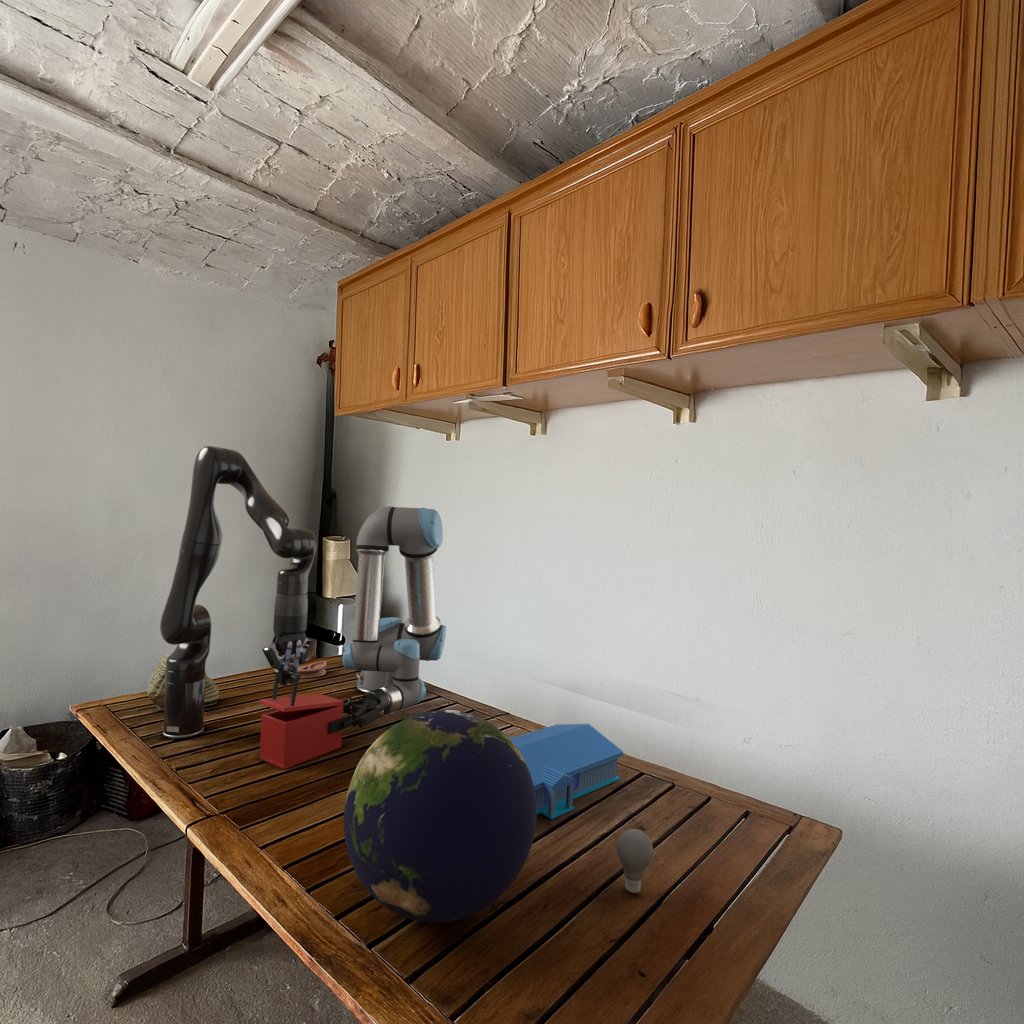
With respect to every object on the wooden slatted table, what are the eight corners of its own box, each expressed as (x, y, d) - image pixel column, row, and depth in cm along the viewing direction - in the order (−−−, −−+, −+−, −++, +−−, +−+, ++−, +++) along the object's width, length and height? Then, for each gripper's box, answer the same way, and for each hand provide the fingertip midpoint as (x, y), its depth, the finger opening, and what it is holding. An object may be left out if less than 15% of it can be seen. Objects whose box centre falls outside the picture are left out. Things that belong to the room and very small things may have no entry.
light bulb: (610, 879, 108) (613, 822, 108) (644, 879, 109) (647, 822, 109) (619, 902, 102) (622, 840, 102) (655, 901, 103) (658, 840, 103)
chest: (283, 769, 146) (285, 723, 146) (259, 758, 151) (261, 714, 151) (341, 747, 160) (343, 705, 160) (317, 738, 165) (319, 697, 165)
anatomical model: (279, 664, 218) (297, 657, 229) (279, 676, 218) (296, 668, 229) (314, 668, 215) (331, 660, 227) (314, 680, 216) (330, 671, 227)
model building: (505, 839, 120) (507, 787, 120) (430, 791, 138) (432, 746, 138) (631, 784, 146) (633, 741, 146) (555, 749, 164) (556, 711, 164)
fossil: (144, 707, 182) (145, 655, 182) (212, 696, 194) (213, 647, 194) (151, 716, 175) (153, 662, 175) (221, 703, 188) (223, 653, 188)
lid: (284, 712, 145) (290, 675, 146) (259, 703, 151) (265, 668, 151) (343, 705, 160) (348, 671, 161) (319, 697, 165) (324, 665, 166)
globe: (296, 934, 92) (304, 728, 91) (406, 836, 119) (412, 678, 119) (484, 1004, 80) (494, 770, 80) (557, 878, 108) (565, 703, 108)
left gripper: (275, 617, 143) (271, 693, 143) (324, 610, 155) (320, 681, 155) (255, 612, 147) (251, 686, 148) (304, 606, 159) (300, 675, 159)
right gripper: (409, 724, 172) (345, 749, 153) (353, 706, 184) (288, 727, 165) (410, 696, 172) (346, 718, 153) (354, 680, 184) (289, 699, 165)
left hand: (287, 683), depth 151 cm, fingers closed on lid
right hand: (316, 723), depth 159 cm, fingers closed on chest, 9 cm apart
